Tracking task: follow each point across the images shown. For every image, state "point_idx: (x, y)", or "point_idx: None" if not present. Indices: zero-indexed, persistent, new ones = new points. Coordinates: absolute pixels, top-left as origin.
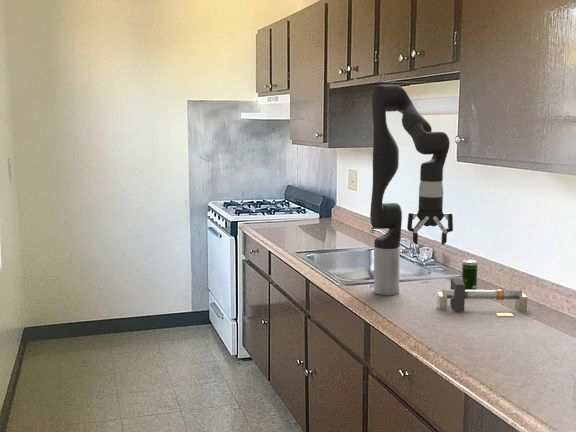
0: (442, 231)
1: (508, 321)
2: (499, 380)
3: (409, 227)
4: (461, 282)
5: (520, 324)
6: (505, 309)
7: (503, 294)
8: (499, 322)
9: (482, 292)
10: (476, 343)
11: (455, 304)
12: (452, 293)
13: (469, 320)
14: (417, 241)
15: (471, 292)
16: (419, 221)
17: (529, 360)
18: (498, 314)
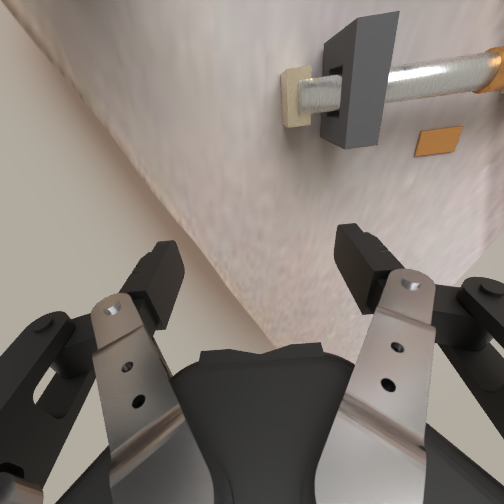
0: (382, 289)
1: (419, 187)
2: None
3: (70, 387)
4: (376, 109)
5: (433, 204)
6: None
7: (500, 89)
8: (396, 197)
9: (435, 92)
10: (316, 298)
11: (326, 138)
12: (331, 109)
13: (337, 194)
14: (179, 286)
15: (396, 98)
16: (112, 400)
17: (363, 332)
18: (422, 143)
